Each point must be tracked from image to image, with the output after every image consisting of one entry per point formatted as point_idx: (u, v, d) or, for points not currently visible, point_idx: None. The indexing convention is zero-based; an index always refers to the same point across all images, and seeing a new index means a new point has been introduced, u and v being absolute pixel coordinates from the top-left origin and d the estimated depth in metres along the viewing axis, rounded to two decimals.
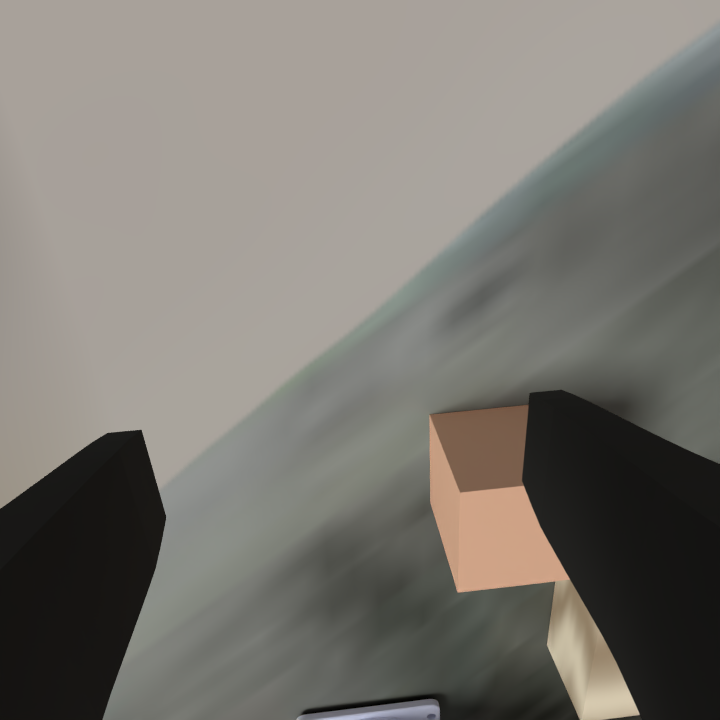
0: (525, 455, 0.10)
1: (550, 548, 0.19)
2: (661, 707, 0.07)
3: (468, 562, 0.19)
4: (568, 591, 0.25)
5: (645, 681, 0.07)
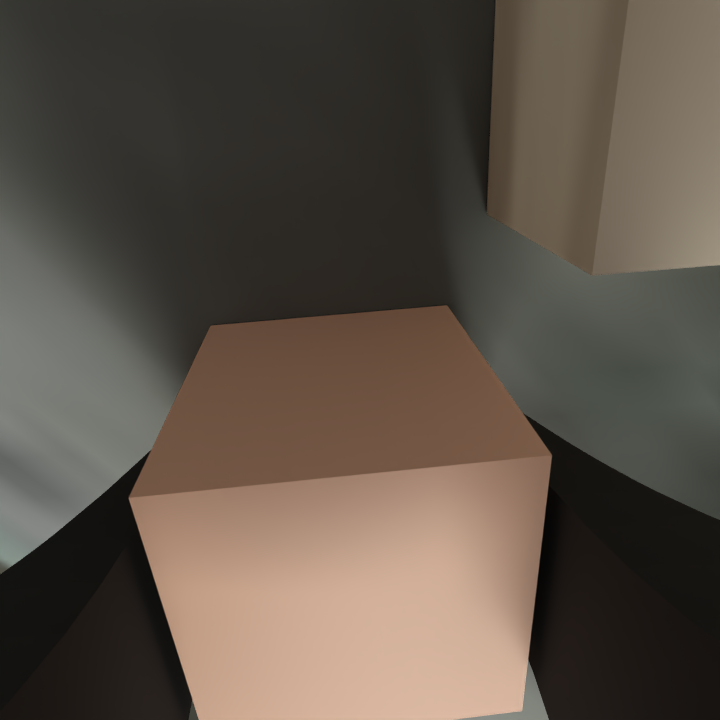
0: None
1: (404, 559, 0.06)
2: (565, 719, 0.07)
3: (425, 707, 0.08)
4: None
5: (553, 692, 0.07)
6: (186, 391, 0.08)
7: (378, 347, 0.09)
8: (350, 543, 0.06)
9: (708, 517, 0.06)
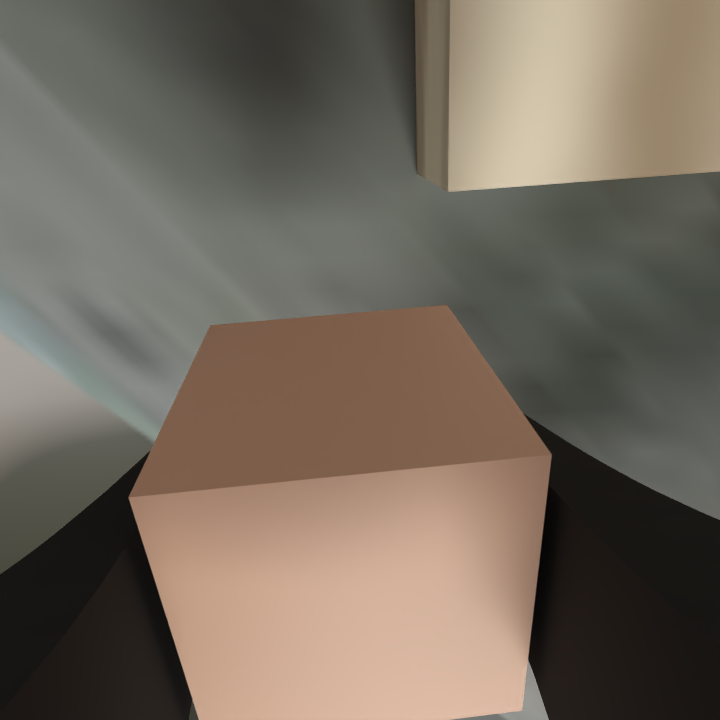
0: None
1: (404, 559, 0.06)
2: (565, 719, 0.07)
3: (425, 707, 0.08)
4: None
5: (553, 692, 0.07)
6: (186, 391, 0.08)
7: (378, 347, 0.09)
8: (350, 542, 0.06)
9: (708, 518, 0.06)
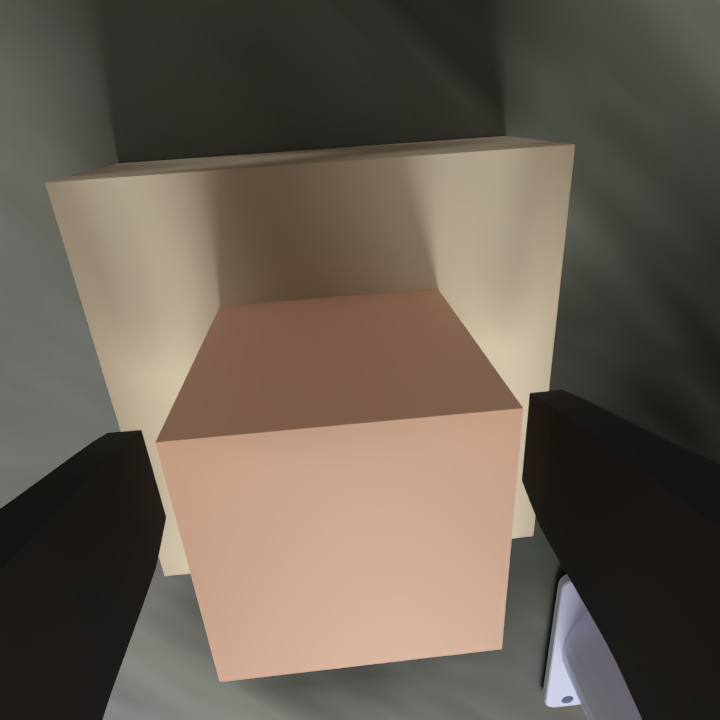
0: (525, 455, 0.10)
1: (395, 502, 0.07)
2: (661, 707, 0.07)
3: (414, 644, 0.08)
4: None
5: (645, 681, 0.07)
6: (201, 360, 0.09)
7: (373, 324, 0.10)
8: (347, 486, 0.07)
9: None
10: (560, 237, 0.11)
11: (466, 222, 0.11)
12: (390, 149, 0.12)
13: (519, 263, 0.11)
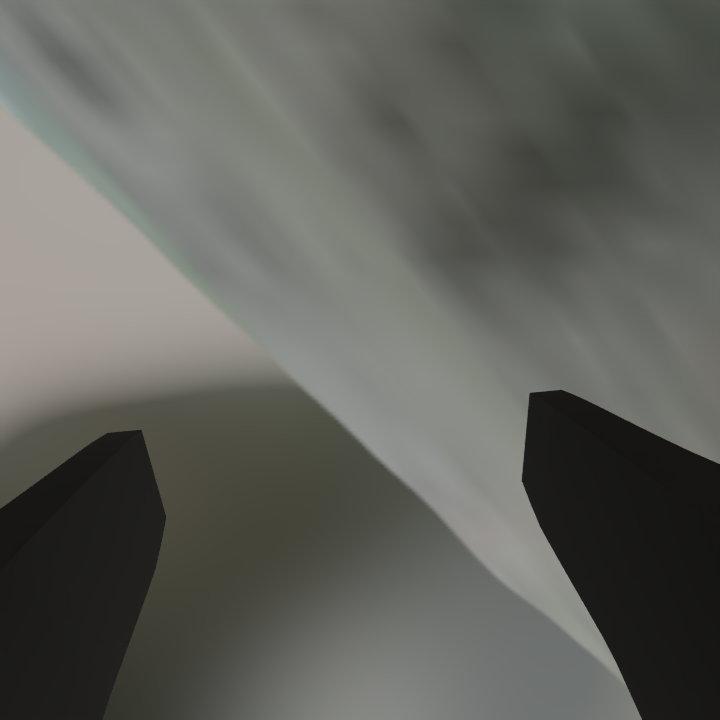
0: (525, 455, 0.10)
1: None
2: (661, 707, 0.07)
3: None
4: None
5: (645, 681, 0.07)
6: None
7: None
8: None
9: None
10: None
11: None
12: None
13: None
